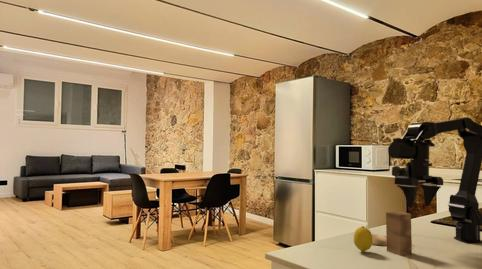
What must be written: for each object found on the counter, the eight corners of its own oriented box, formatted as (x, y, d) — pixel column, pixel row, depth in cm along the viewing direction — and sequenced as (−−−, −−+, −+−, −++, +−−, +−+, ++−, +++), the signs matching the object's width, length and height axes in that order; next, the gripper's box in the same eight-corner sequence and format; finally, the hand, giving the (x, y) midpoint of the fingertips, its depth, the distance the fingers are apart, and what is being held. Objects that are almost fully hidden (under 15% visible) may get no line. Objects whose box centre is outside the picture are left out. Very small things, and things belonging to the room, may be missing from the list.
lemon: (374, 255, 105) (373, 228, 105) (354, 254, 106) (354, 227, 106) (371, 250, 110) (370, 224, 111) (352, 249, 112) (352, 223, 112)
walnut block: (398, 249, 111) (397, 211, 112) (411, 253, 107) (411, 213, 107) (386, 251, 109) (386, 212, 110) (399, 255, 105) (399, 215, 105)
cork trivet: (384, 236, 127) (384, 234, 127) (400, 245, 116) (400, 242, 116) (354, 237, 126) (354, 234, 126) (368, 245, 115) (368, 242, 115)
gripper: (413, 159, 129) (413, 202, 128) (380, 158, 119) (379, 204, 118) (444, 160, 119) (443, 207, 118) (411, 159, 110) (410, 209, 109)
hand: (418, 206), depth 116 cm, fingers open, 9 cm apart
